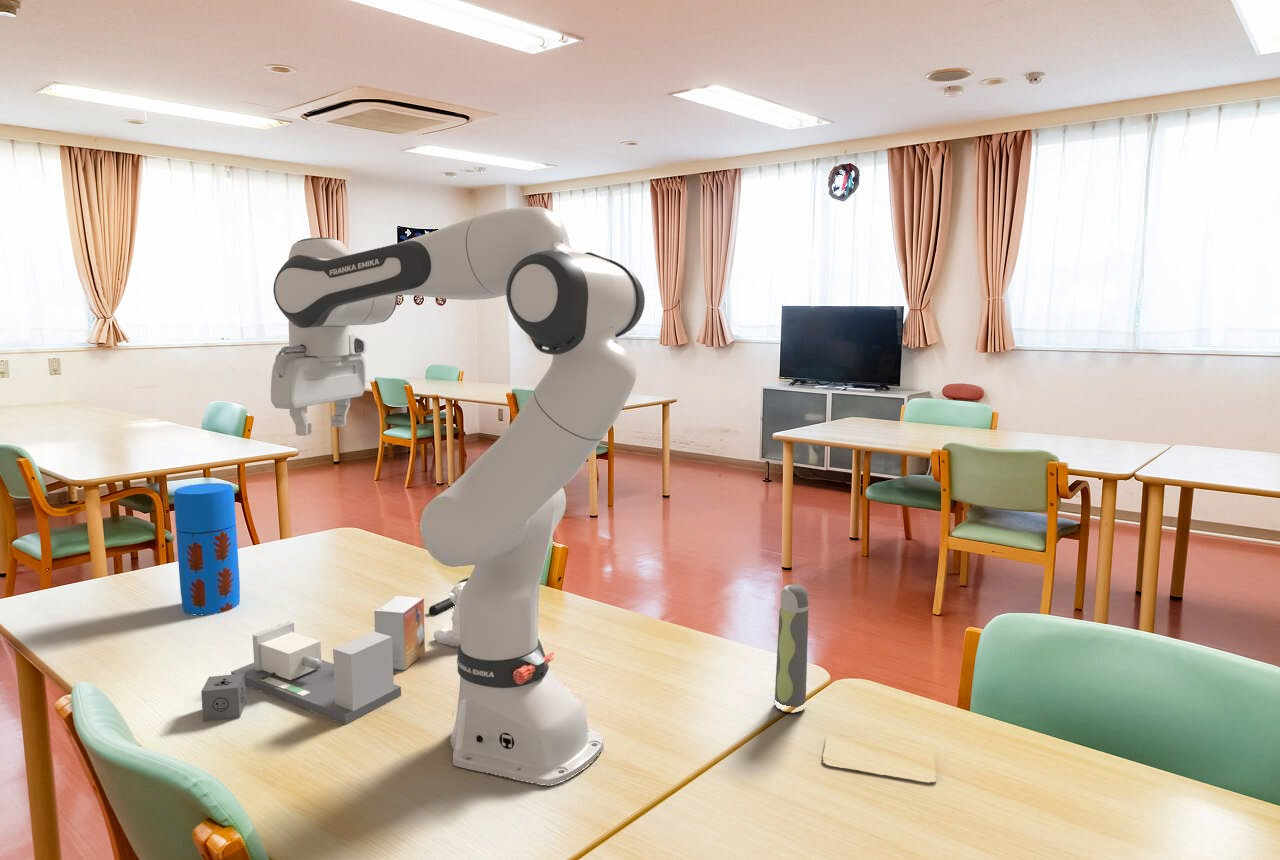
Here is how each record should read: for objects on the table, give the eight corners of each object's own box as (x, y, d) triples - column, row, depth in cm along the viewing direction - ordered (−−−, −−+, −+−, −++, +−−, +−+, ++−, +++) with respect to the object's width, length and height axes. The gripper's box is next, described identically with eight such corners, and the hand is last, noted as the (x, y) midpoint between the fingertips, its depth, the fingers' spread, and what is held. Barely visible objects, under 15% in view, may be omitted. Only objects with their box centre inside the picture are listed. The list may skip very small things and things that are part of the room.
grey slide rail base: (231, 680, 136) (227, 620, 135) (289, 656, 146) (286, 600, 144) (345, 724, 122) (342, 658, 121) (401, 695, 132) (399, 633, 130)
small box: (405, 671, 141) (403, 613, 139) (375, 668, 142) (373, 610, 140) (426, 652, 148) (424, 597, 147) (397, 650, 149) (396, 594, 148)
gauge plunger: (244, 673, 135) (241, 638, 134) (291, 654, 142) (289, 621, 141) (289, 690, 129) (287, 654, 128) (336, 669, 136) (334, 635, 135)
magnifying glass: (408, 611, 169) (408, 601, 169) (479, 579, 191) (479, 570, 190) (457, 621, 164) (457, 611, 164) (524, 588, 185) (524, 579, 185)
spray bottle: (786, 697, 133) (791, 579, 130) (811, 707, 129) (817, 586, 127) (768, 707, 130) (772, 585, 127) (793, 718, 126) (799, 593, 123)
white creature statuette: (479, 629, 159) (478, 570, 158) (497, 644, 152) (496, 583, 150) (432, 639, 154) (431, 578, 152) (448, 656, 147) (447, 592, 145)
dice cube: (203, 722, 123) (201, 691, 122) (211, 706, 128) (209, 676, 127) (239, 718, 124) (237, 687, 123) (246, 703, 129) (244, 673, 128)
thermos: (251, 603, 171) (244, 487, 168) (201, 619, 162) (192, 496, 159) (221, 593, 177) (214, 480, 173) (171, 608, 168) (162, 489, 164)
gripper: (295, 347, 118) (298, 442, 120) (372, 342, 138) (373, 423, 140) (257, 346, 119) (261, 439, 121) (338, 340, 139) (340, 420, 141)
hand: (322, 430), depth 131 cm, fingers open, 8 cm apart
